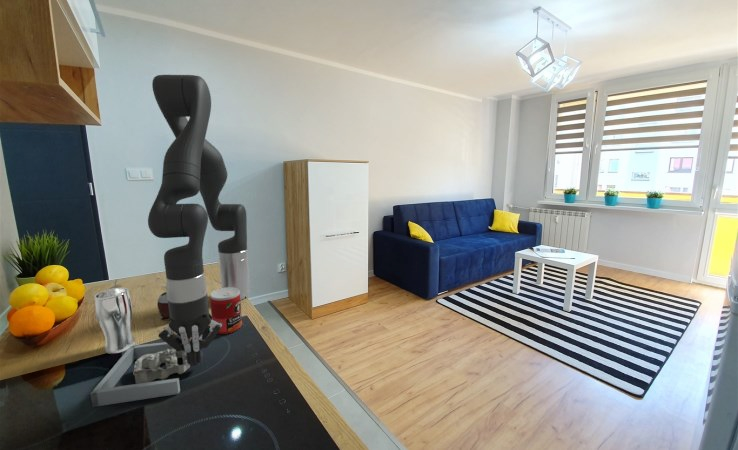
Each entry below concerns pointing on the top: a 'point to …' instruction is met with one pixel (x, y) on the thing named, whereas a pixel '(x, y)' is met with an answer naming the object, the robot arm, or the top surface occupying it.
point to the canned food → (226, 309)
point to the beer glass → (115, 319)
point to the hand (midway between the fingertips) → (195, 363)
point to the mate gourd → (163, 306)
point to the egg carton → (155, 361)
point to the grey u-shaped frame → (111, 395)
